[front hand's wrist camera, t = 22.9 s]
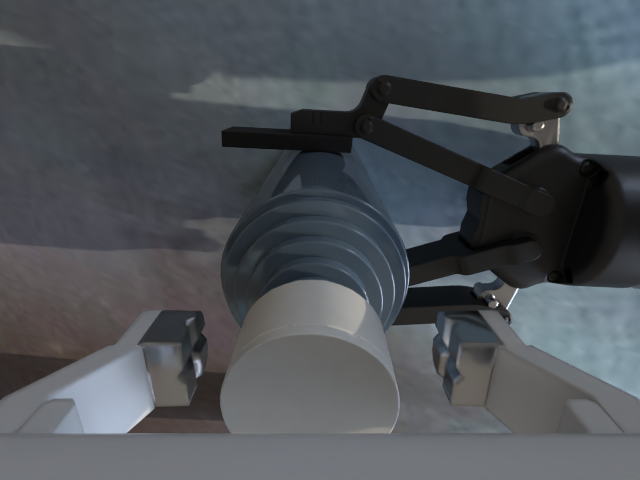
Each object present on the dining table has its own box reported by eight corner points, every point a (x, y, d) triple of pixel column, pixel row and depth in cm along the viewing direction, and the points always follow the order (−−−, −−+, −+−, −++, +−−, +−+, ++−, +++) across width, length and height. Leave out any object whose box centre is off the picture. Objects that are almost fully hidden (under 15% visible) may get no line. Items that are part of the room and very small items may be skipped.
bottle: (339, 116, 26) (384, 195, 7) (380, 200, 28) (496, 431, 9) (255, 162, 27) (102, 332, 8) (300, 239, 29) (261, 512, 10)
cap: (402, 373, 11) (421, 445, 9) (276, 411, 11) (266, 487, 9) (355, 257, 9) (364, 308, 7) (215, 306, 10) (186, 368, 8)
